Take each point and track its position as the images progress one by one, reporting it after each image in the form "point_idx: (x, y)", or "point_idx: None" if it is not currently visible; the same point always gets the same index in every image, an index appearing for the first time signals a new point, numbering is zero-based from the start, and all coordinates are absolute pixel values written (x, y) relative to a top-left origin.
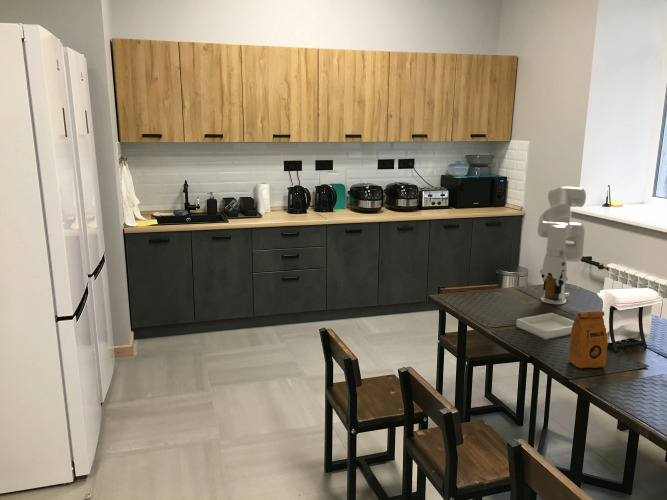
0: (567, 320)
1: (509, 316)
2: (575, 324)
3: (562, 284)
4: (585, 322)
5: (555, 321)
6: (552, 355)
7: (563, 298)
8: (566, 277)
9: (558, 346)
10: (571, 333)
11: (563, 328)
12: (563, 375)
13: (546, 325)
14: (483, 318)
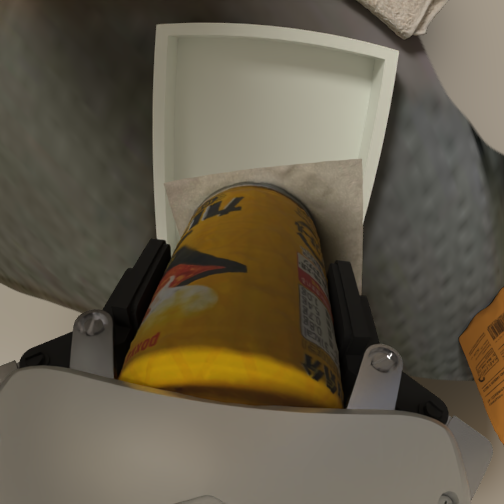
0: (295, 42)
1: (65, 181)
2: (501, 427)
3: (401, 379)
4: None
5: (219, 51)
6: (414, 339)
7: (340, 174)
8: (476, 479)
9: (403, 281)
10: (485, 406)
11: (371, 190)
12: (460, 380)
13: (239, 144)
14: (66, 275)
